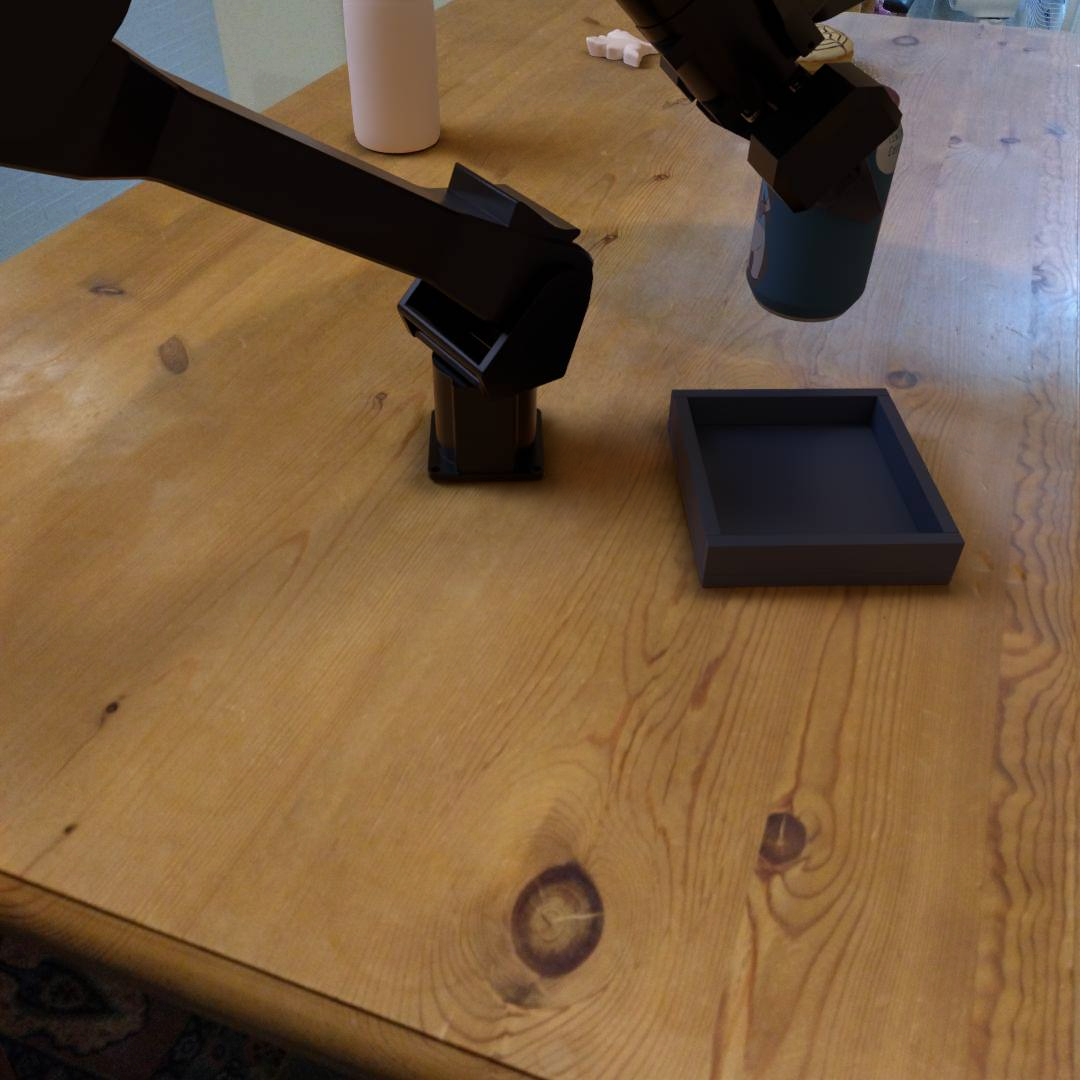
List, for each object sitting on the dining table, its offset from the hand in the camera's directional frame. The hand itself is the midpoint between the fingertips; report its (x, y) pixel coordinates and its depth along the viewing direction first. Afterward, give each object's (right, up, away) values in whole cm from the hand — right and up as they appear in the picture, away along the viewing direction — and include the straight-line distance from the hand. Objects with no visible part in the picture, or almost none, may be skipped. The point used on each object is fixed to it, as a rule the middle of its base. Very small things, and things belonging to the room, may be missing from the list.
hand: (846, 190), depth 59 cm
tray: (-3, -17, -1) cm, 18 cm away
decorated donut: (+10, +30, +54) cm, 62 cm away
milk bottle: (-30, +17, +37) cm, 50 cm away
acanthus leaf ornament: (-8, +33, +57) cm, 66 cm away
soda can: (-2, -5, +4) cm, 7 cm away
